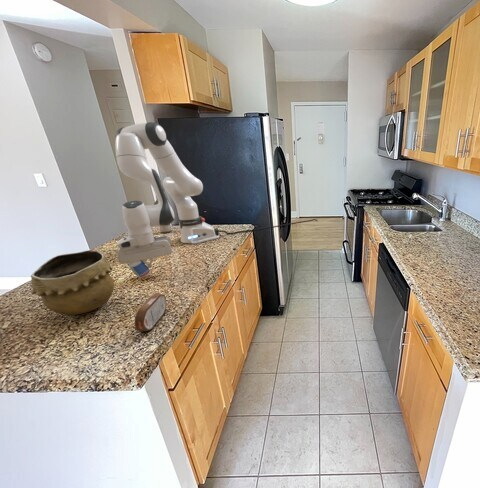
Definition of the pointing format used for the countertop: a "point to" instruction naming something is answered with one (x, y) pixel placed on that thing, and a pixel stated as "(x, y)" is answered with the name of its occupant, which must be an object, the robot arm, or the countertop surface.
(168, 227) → the bottle
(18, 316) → the countertop surface
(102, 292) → the clay pot
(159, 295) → the brown oval clock
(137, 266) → the pill bottle
